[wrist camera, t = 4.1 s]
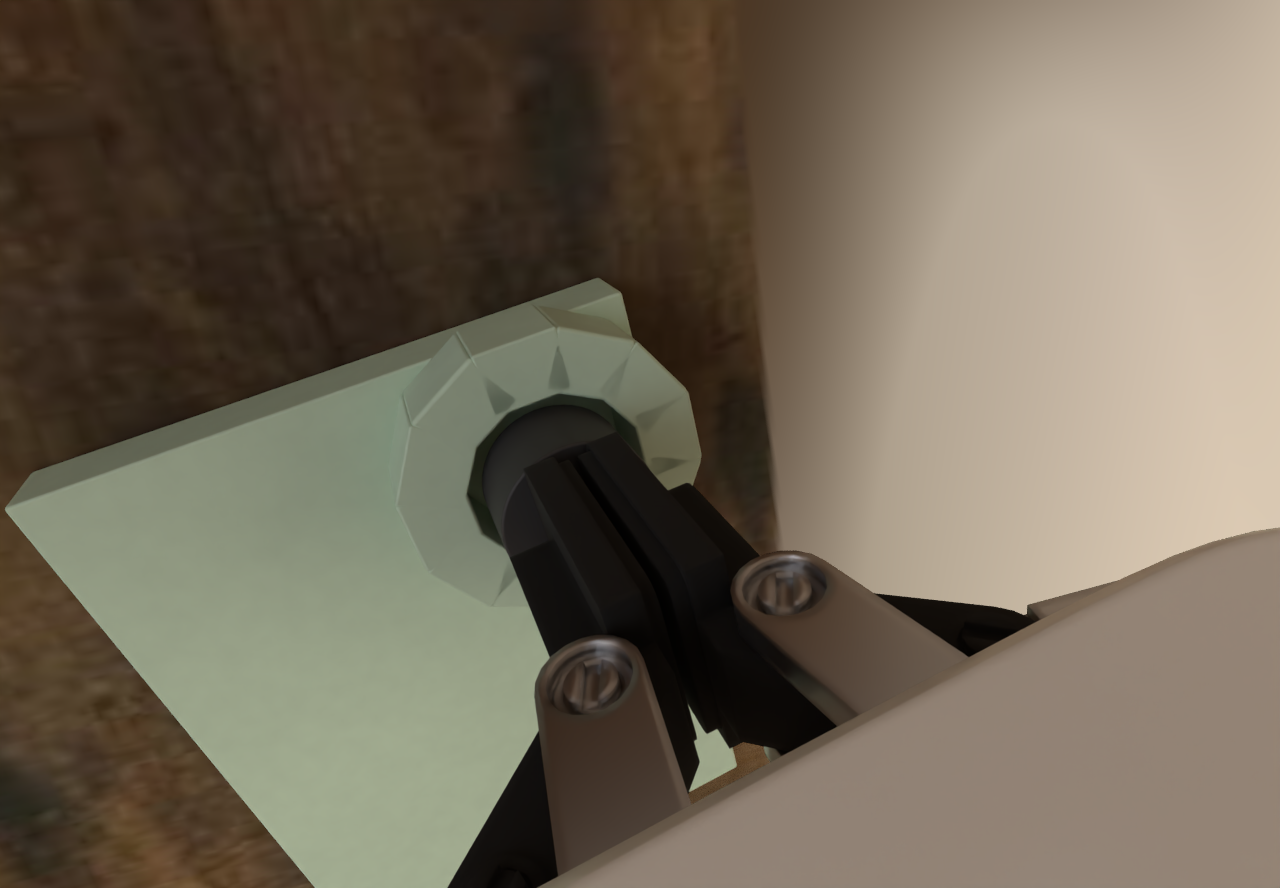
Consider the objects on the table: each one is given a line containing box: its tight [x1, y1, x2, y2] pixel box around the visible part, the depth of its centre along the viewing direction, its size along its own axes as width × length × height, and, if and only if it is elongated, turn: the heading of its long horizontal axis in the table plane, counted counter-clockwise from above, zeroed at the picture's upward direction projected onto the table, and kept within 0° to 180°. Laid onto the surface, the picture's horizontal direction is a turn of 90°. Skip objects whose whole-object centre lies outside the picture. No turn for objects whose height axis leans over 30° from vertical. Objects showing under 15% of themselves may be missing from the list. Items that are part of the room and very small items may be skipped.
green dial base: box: [5, 278, 737, 888], centre depth 17 cm, size 15×11×3 cm
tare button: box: [482, 404, 649, 557], centre depth 13 cm, size 3×3×2 cm
